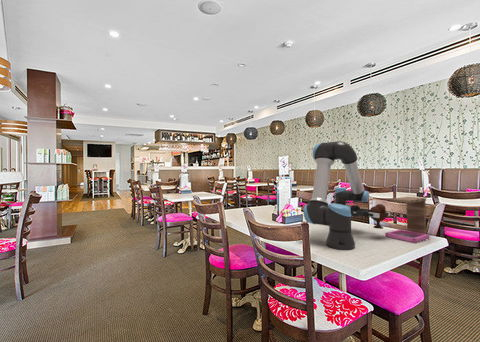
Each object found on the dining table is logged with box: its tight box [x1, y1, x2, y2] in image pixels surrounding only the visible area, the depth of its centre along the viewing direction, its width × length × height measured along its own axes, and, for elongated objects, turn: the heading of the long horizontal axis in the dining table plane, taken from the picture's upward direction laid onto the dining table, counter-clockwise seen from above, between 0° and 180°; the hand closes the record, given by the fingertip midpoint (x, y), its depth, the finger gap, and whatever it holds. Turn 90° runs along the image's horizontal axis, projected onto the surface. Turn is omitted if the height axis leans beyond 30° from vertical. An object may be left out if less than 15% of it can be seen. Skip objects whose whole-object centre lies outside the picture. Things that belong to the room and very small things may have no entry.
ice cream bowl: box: [369, 203, 389, 230], centre depth 151 cm, size 11×11×15 cm
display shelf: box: [390, 196, 427, 234], centre depth 151 cm, size 20×11×24 cm, turn 119°
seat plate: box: [384, 229, 431, 244], centre depth 151 cm, size 17×17×2 cm
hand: (384, 215), depth 148 cm, fingers closed on ice cream bowl, 11 cm apart
